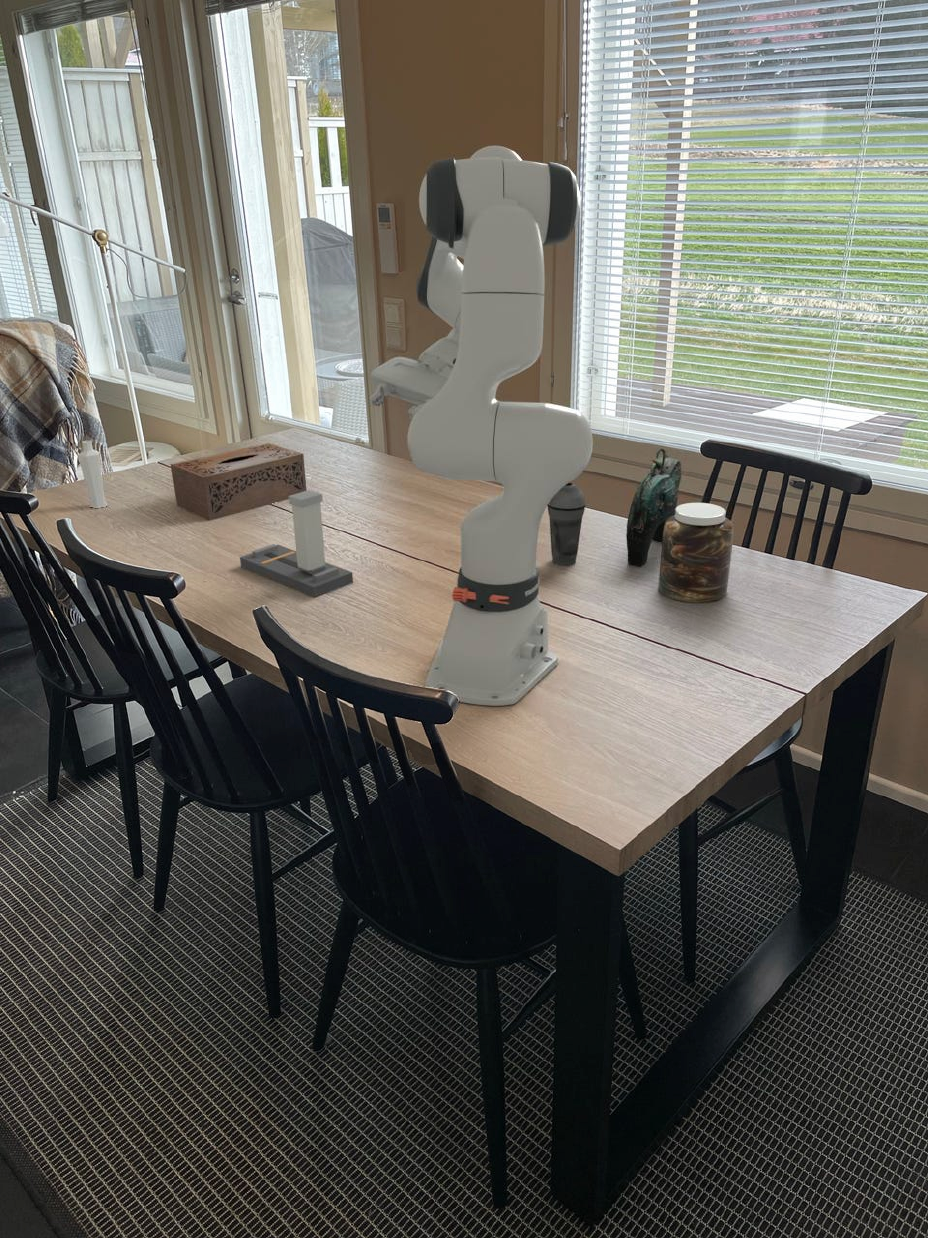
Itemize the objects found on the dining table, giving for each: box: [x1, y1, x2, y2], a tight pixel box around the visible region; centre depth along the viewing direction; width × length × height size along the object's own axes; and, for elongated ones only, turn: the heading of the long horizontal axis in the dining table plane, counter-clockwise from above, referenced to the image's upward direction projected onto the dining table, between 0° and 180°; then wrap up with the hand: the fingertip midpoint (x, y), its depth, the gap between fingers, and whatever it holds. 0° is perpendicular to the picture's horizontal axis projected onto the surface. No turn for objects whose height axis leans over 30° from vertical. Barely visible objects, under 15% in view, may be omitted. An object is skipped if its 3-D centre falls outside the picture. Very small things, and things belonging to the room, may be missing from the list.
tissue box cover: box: [170, 442, 308, 522], centre depth 213 cm, size 26×14×10 cm, turn 134°
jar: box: [658, 502, 734, 604], centre depth 162 cm, size 12×12×15 cm
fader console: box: [239, 543, 354, 598], centre depth 173 cm, size 22×9×3 cm, turn 48°
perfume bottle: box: [77, 439, 108, 509], centre depth 209 cm, size 5×4×15 cm
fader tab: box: [288, 489, 326, 575], centre depth 167 cm, size 4×5×14 cm
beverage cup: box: [547, 482, 586, 567], centre depth 174 cm, size 7×7×20 cm
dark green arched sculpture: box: [626, 448, 682, 568], centre depth 179 cm, size 20×6×20 cm, turn 150°
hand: (392, 409), depth 165 cm, fingers open, 8 cm apart
